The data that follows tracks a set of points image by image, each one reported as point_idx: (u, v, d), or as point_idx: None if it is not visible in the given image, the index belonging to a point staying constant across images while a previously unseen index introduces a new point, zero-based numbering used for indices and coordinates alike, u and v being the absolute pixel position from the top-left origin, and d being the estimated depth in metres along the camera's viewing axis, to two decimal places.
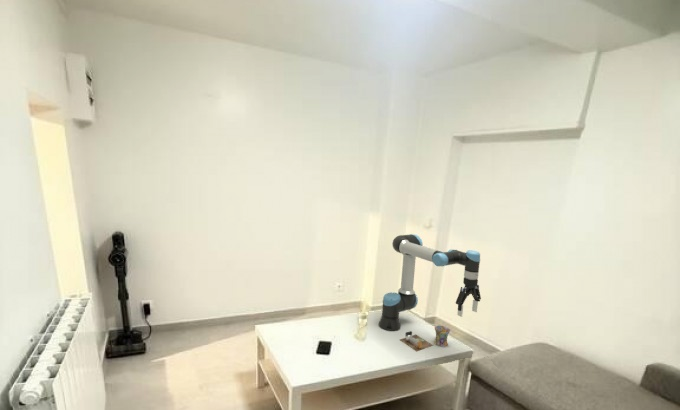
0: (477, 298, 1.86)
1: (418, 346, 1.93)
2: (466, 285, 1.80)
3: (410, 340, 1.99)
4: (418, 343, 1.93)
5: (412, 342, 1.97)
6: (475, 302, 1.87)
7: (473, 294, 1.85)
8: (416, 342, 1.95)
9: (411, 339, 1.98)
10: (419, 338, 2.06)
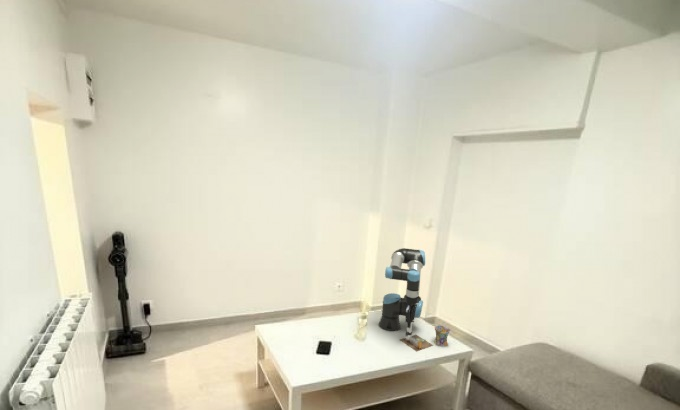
0: (412, 318, 2.00)
1: (418, 346, 1.93)
2: (409, 303, 1.96)
3: (410, 340, 1.99)
4: (418, 343, 1.93)
5: (412, 342, 1.97)
6: None
7: None
8: (416, 342, 1.95)
9: (411, 339, 1.98)
10: (419, 338, 2.06)
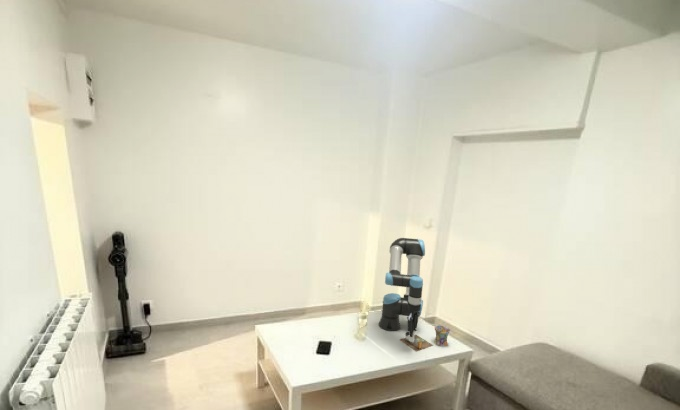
0: (415, 327, 1.90)
1: (418, 346, 1.93)
2: (411, 311, 1.86)
3: None
4: (418, 343, 1.93)
5: (412, 342, 1.97)
6: None
7: None
8: (416, 342, 1.95)
9: None
10: (419, 338, 2.06)
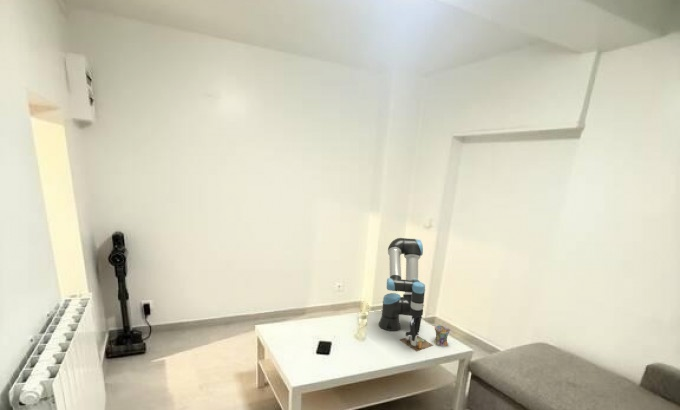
0: (417, 331, 1.94)
1: (418, 346, 1.93)
2: (414, 316, 1.90)
3: (410, 340, 1.99)
4: (418, 343, 1.93)
5: None
6: None
7: None
8: (416, 342, 1.95)
9: (411, 339, 1.98)
10: (419, 338, 2.06)
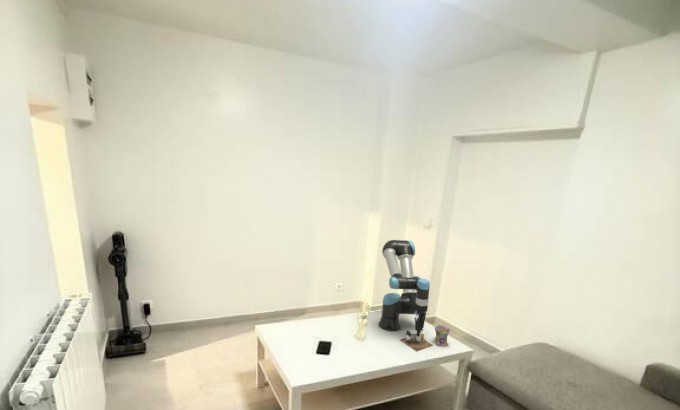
0: (422, 326, 2.00)
1: (422, 338, 2.03)
2: (418, 311, 1.95)
3: (412, 338, 2.01)
4: (422, 336, 2.02)
5: (415, 339, 2.01)
6: None
7: None
8: None
9: (413, 337, 2.01)
10: None
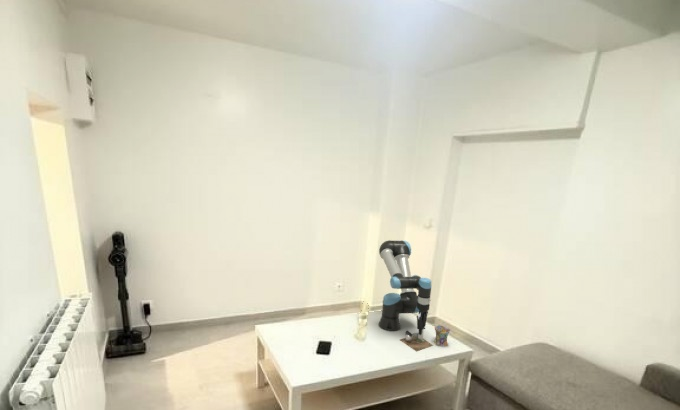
0: (424, 325, 2.02)
1: None
2: (420, 310, 1.98)
3: (412, 338, 2.02)
4: None
5: (414, 338, 2.03)
6: None
7: None
8: None
9: (413, 336, 2.02)
10: None
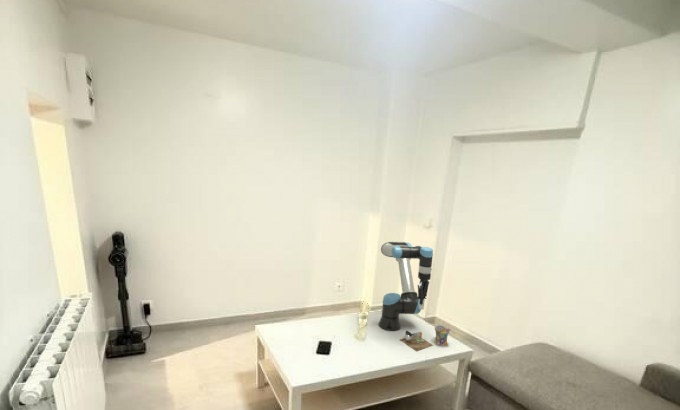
0: (425, 295, 1.99)
1: (420, 336, 2.05)
2: (421, 279, 1.95)
3: (412, 338, 2.02)
4: (420, 334, 2.05)
5: (414, 338, 2.03)
6: None
7: None
8: (418, 335, 2.04)
9: (413, 336, 2.02)
10: None
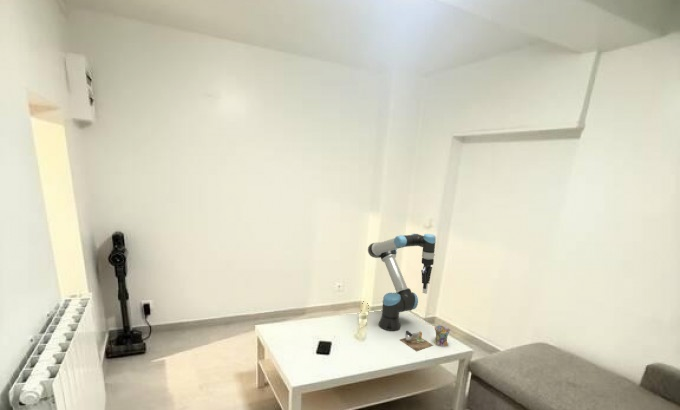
0: (428, 280, 2.09)
1: (420, 336, 2.05)
2: (425, 264, 2.04)
3: (412, 338, 2.02)
4: (420, 334, 2.05)
5: (414, 338, 2.03)
6: None
7: None
8: (418, 335, 2.04)
9: (413, 336, 2.02)
10: None
